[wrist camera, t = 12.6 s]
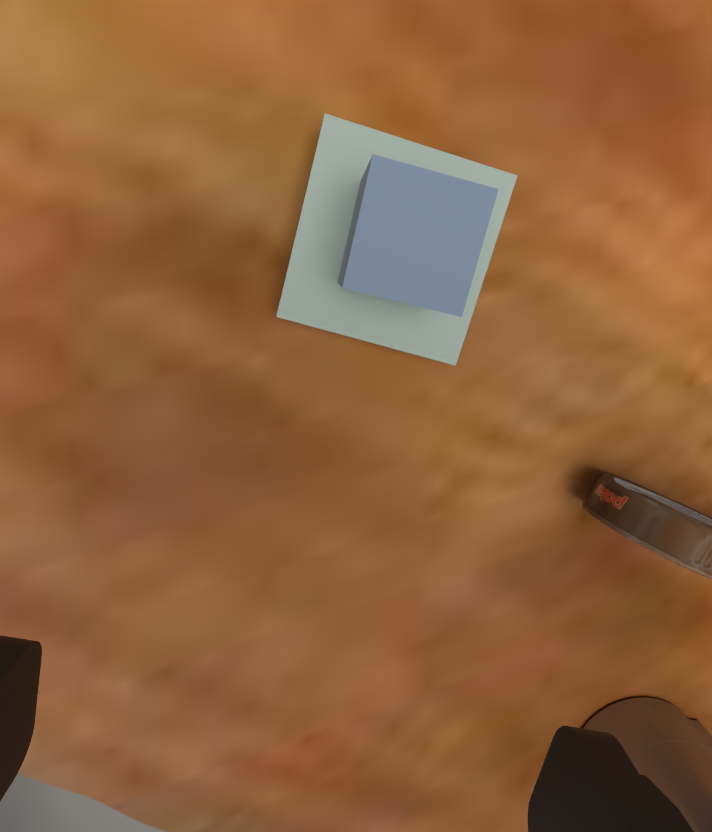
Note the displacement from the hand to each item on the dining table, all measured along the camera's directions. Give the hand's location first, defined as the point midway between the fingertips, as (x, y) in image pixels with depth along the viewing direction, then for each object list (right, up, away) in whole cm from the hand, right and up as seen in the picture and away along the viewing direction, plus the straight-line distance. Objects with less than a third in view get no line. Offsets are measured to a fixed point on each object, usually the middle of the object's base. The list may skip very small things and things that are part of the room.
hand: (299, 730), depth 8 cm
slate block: (+3, +14, +20) cm, 24 cm away
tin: (+22, -2, +29) cm, 36 cm away
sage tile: (+3, +15, +24) cm, 28 cm away
